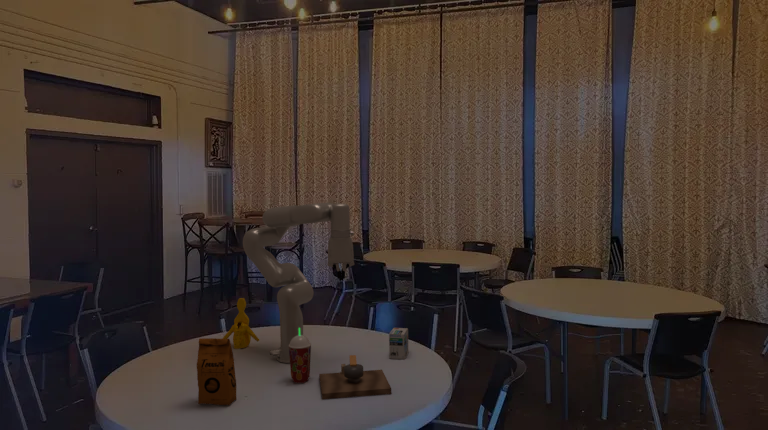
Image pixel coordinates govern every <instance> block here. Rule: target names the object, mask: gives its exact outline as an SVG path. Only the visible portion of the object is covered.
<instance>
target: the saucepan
mask: <svg viewBox="0 0 768 430" xmlns="http://www.w3.org/2000/svg"><path fill="white" fill-rule="evenodd" d="M363 371H364V365H362V364H358V362H357V355H356V354H353V355H349V364H346V366H344V377H346V378H351V379H355V378H360V377H362V376H363Z"/></svg>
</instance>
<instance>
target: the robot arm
mask: <svg viewBox="0 0 768 430" xmlns="http://www.w3.org/2000/svg"><path fill="white" fill-rule="evenodd" d="M261 219H262V221H263V224H264V225H265V226H260V227H255V228H251V229H249V230H248V231H246V232H245V233H244V236H243V237H242V247H243V250H244V253H245V255H246V256H247V257H248V259H249V260H250V261H251V262H252V263H253V265H255V267H256V269H257V270H258V271H259V272H260V273H261V275H262V277H264V279H265V281H266V282H267V283H268V284H269V286H271V287H272V288H279V287H281V288H280V289H279V290H278V291H277V294H276V301H277V305H278V311H279V324H280V325H279V327H280V347H279V348H278V349H271V350H270V351H269V355H270V356H272V357H274V356H275V357H276V356H277V357H276V359H277V361H278V362H279V363H283V364H290V356H289V346H288V345H289V344H290V341H291V340H292V338H293V337H295V336H297V335H299V328H300V335H304V318H303V312H302V310H301V307H300V306H301V305H303V304H307V303H309V302H310V301H312V299H313V297H314V294H315V293H314V288H313V286H312V285H311V283H310V282H309V280H308V279H307V277H306V276H305V275H304V274H303V272H302V271H301V270H300V269H299V268H300V267H298V266H297V265H296V264H294V263H292V262H283V263H280V262H279V260H278V259H276V257H275V255H273V254H272V252H271V251H268V250H267V249H266V248H265V247H270V246H274V245H275V246H276V245H277V244H279V243H280V242H281V240H282V238H283V237H284V235H285V234H286V233H287V231H289V229H290V227H295V226H296V227H297V226H299V225H303V224H304V225H306V224H316V223H317V224H319V223H325V222H330V237H329V239H328V243H327V266H328V267H331V268H334V269H335V270H336V274H337V276H336V278H337V280H339V281H338V282H344V279H346V270H347V269H348V268H349V267H352V266H355V260H354V256H355V255H354V254H355V253H354V244H353V239H352V237H351V236H352V235H353V236H354V231H351V226H350V225H351V224H350V222H351V221H350V205H349V204H348V203H331V202H318V203H308V204H301V205H297V204H293V205H286V206H285V205H284V206H278V207H276V206H275V207H270V208H269V209H266V210H265V211H264V212H263V214H262V218H261ZM340 264H342V267H341V268H340Z"/></svg>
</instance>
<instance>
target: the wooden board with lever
mask: <svg viewBox="0 0 768 430" xmlns="http://www.w3.org/2000/svg"><path fill="white" fill-rule="evenodd" d="M346 365H347V364H346V363H340V370H341V371H340V372H328V373H319V375H318V376H319V377H318V378H319V386H320V392H321V393H320V394H321V399H322V400H330V399H331V400H332V399H344V398H345V399H347V398H357V397H360V398H361V397H368V396H369V397H370V396H371V397H372V396H382V395H391V394H392V387H391V385H390V383H389V381H388V379H387V377H386V374H385V373H384V370H383V369H370V370H363V376H362V377H360V378H355V379H351V378H346V377H344V366H346Z"/></svg>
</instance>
